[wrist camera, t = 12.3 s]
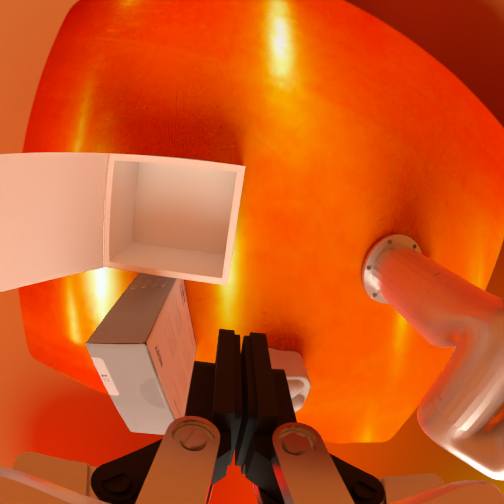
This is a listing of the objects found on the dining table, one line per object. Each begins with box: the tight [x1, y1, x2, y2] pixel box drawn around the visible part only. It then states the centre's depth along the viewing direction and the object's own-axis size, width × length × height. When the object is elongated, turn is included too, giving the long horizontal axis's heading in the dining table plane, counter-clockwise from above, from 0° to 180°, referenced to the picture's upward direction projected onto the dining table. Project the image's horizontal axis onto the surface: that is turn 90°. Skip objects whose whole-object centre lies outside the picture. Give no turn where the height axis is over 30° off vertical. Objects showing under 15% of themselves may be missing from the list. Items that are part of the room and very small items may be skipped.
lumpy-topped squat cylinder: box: [268, 348, 311, 412], centre depth 47 cm, size 10×13×9 cm
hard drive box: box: [85, 273, 197, 435], centre depth 36 cm, size 16×8×20 cm, turn 5°
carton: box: [104, 153, 245, 285], centre depth 36 cm, size 16×14×10 cm
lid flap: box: [0, 152, 109, 292], centre depth 24 cm, size 16×14×1 cm
